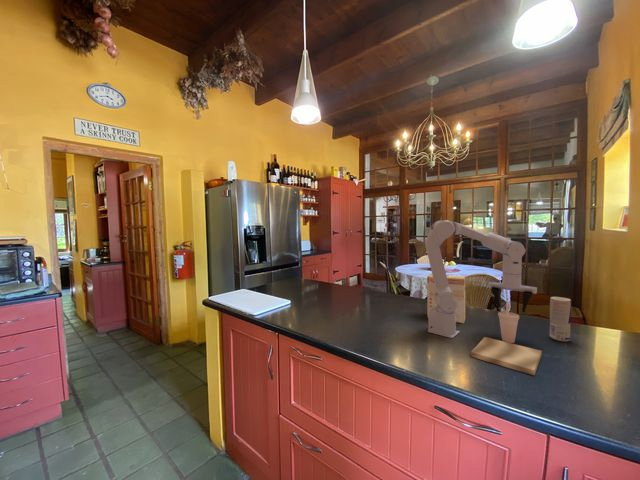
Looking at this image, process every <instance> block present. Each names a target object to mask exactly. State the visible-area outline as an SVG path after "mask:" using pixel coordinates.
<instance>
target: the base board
mask: <svg viewBox="0 0 640 480" xmlns="http://www.w3.org/2000/svg"><path fill="white" fill-rule="evenodd" d="M542 353H543V350H540V349H536V348H532V347H528V346H523V345H520V344H516V343H508V342H505V341H503V340H500V339H494V338H491V337H487V336H484V337H483V338H482V339H481V340H480V342H479V343H478V344H477V345H476V346H475V347H474V348H472V350H471V351H470V358H471V357H472V358H474V359H479V360H481V361H485V362H488V363H492V364H493V365H494V364H495V365H498V366H501V367H503V368H508V369H511V370H515V371H518V372H522V373H525V374H528V375H532V376H536V372H537V369H538V367H539V364H540V361H541V359H542V357H543V354H542Z"/></svg>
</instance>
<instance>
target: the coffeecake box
mask: <svg viewBox="0 0 640 480" xmlns="http://www.w3.org/2000/svg"><path fill="white" fill-rule="evenodd" d="M446 276H447V280H448V284H449V287H450V289H451V292H452V295H453V297H454V298H455V299H456V301H457V303H458V306H457V309H456V323H460V324H465V321H466V275H453V274H451V275H450V274H446ZM426 280H427V281H426V283H427V284H426V286H427V287H426V289H427V292H426V293H427V298H426V299H427V303H426V305H427V306H426V308H427V311H426V312H427V318H428V316H429V311H430V309H431V308H436V306H437V303H436V302H435V294H436V292H435V283H434V279H433V275H432V273H429V274H428V275H427V278H426Z"/></svg>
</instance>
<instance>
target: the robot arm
mask: <svg viewBox="0 0 640 480" xmlns="http://www.w3.org/2000/svg"><path fill="white" fill-rule="evenodd" d="M453 235H455V236H456V235H457V236H458V235H462V236H465V237H467V238H470V239H474V240H476V241H478V242H480V243H481V245H482V246H483V247H485V248H486V249H490V250H493V251H496V252H498V253H500V254H501V255H502V274H501V275H502V276H501V277H502V280H501V281H502V282H494V281H493V282H492V281H489V282H488V285H487V286H488V288H489V289H490V291H491V293H492V295H493V298H494V301H495V303H496V308H497V309H500V308H501V306H502V301H501V298H502V297H501V296H502V290H507V291H514V292H523V293H522V309H521V310H522V311H521V312H522V313H526V311H527V307H528V303H529V301H530V299H531V298H532V296H533V294H535V295H536V294H538V287H536V286H531V285H530V286H529V285H523V284H522V266H523V265H522V264H523V262H522V261H523V259H522V258H523V256H524V255H525V254H526V251H527V249H526V248H525V246H524V245H523V244H522V243H521V242H520V241H515V240H511V239H512V238H511V237H508V236H507V237H504V236H502V235H499V233H498V232H496V231H489V232H486V233H484V232H482V231H480V230H477V229H475V228H472V227H470V226H468V225H465V224H462V223H460V222H459V223H458V222H455V221H451V220H449V219H444V220H437V221H435V222H434V223H433V224H432V225H431V226H430V228H429V230H428V233H427V237H426V239H425V242H424V243H425V244H424V246H425V249H426V250H425V251H426V254H427V257H428V258H427V259H428V262H429V266H430V271H431V274H432V275H433V279H434V283H435V292H436V294H435V302H436V303H437V306H436V308H431V309H430V311H429V316H428V317H427V319H428V328H427V329H428V330H427V332H428V333H431V334H433V335H434V334H435V335H438V336H442V337H446V338H450V339H454V338H455V337H457V335H458V334H460V330H456V329H457V327H456V325H457V322H456V309H457V306H458V303H457V301H456V299H455V298H454V297H453V295H452V292H451V289H450V287H449V284H448V280H447V276H446V275H447V273H446V269H445V265H444V260H443V256H442V252H441V248H440V247H441V245H443V242H444V241H445V240H447V239H448V238H450V237H451V236H453Z"/></svg>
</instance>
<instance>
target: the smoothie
mask: <svg viewBox="0 0 640 480" xmlns="http://www.w3.org/2000/svg"><path fill="white" fill-rule="evenodd" d="M505 309H506V311H499V312H498V313H497V316H498V318H499V319H498V320H499V326H500V334H501V335H500V336H501V341H504V342H508V343H512V344H515V342H516V341H515V340H516V337H517V330H518V323H519V320H520V315H519V314H517V313H515V312H510V311H509V302H506V307H505Z"/></svg>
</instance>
